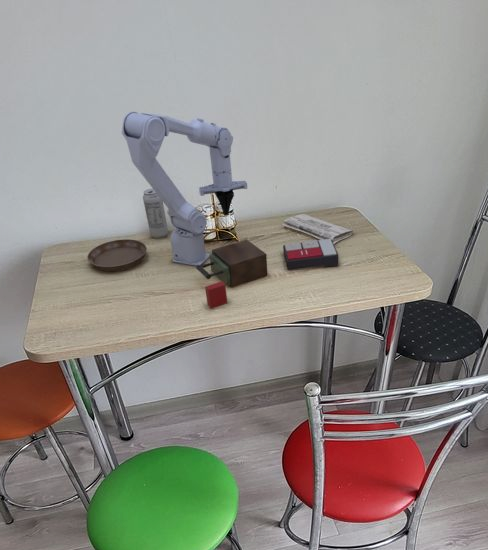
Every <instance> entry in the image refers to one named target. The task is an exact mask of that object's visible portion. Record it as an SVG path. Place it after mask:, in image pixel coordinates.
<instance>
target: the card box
mask: <svg viewBox="0 0 488 550" xmlns="http://www.w3.org/2000/svg"><path fill="white" fill-rule="evenodd" d="M226 286H227V285H226V284H225V283H224V282H223V281H222V280H221V281H218V282H214V283H212V284H209V285H205V286H204V289H205V297H206V303H207V306H208V307H209V308H210V309H215V308H217V307H221V306H223V305H226V304H228V297H227V295H228V294H227V287H226Z"/></svg>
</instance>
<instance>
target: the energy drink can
mask: <svg viewBox="0 0 488 550" xmlns="http://www.w3.org/2000/svg"><path fill="white" fill-rule="evenodd" d="M142 200H143V206H144V210H145V216H146V220H147V225H148V229H149V234H150V236H152V238H154V239H163V238H166V237H167V236H168V234H169V227H168V222H167V217H166V216H167V215H166V211H165V206H164V205H165V204H164V202H163V201H162V200H161V198H160V197H159V196H158V195H157V193H156V192H155V191H154V189H153V188H148V189H146V190H143V196H142Z"/></svg>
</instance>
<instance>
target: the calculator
mask: <svg viewBox="0 0 488 550" xmlns="http://www.w3.org/2000/svg"><path fill="white" fill-rule="evenodd" d="M282 249H283V256H284V261H285V265H286V270H287V271H294V270H302V269H311V268H317V267H318V268H319V267H323V268H333V267H339V253H338V251H337V248H336V246H335V244H333V241H332V239H324V240H320V239H312V240H305V241H297V242H289V243H287V242H286V243H284V244H283V245H282Z"/></svg>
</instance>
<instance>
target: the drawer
mask: <svg viewBox="0 0 488 550" xmlns="http://www.w3.org/2000/svg"><path fill="white" fill-rule="evenodd" d="M208 267H210V270H211V272H212V273H209V272H208V271H207V270H206V269H205V268H208ZM195 269H196V270H197V271H198V272H199V273H200V274H201V275H202V276H203V277H204V278H205V279H207V280H210V279H211V278H212V277H214V276H216V277H217V278H218V279H220V280H221V281H222V282H223V283H224V284H225V286H230V285H229V284H231V279H230V269H229V266H228V265H227V264H226V263H224V262H223V261H222V260H221V259H220V258H219V257H217V256H215V255H214V254H212V253H211V254H209V262H208V263H205V264H204V263H203V264H201V265H197V266H195Z"/></svg>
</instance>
